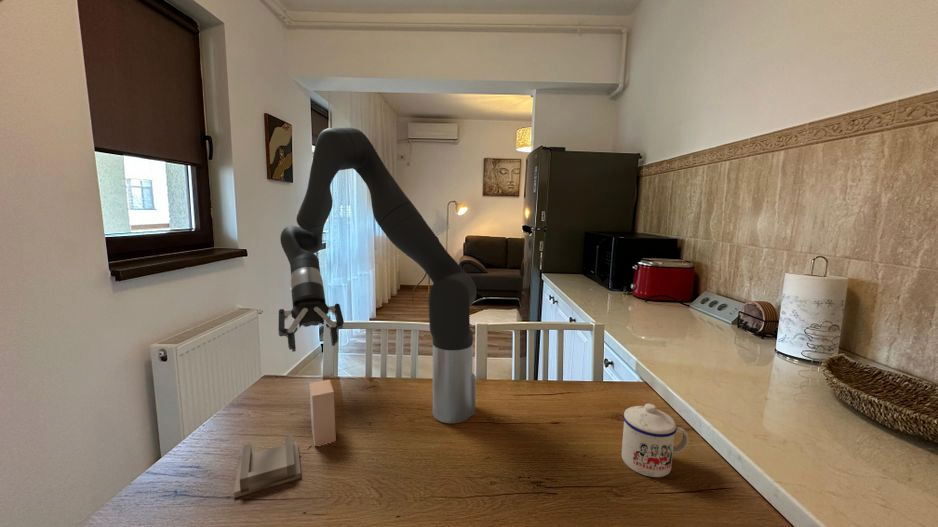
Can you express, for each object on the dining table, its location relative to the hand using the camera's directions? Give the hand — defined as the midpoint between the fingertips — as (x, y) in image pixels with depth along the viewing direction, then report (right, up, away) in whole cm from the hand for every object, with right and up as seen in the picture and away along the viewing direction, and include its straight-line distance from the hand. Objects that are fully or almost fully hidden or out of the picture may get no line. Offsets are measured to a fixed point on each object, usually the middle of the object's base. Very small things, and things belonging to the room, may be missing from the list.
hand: (314, 347), depth 85 cm
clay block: (+5, -17, -8) cm, 19 cm away
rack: (-1, -18, -18) cm, 25 cm away
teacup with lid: (+71, -19, -14) cm, 75 cm away
